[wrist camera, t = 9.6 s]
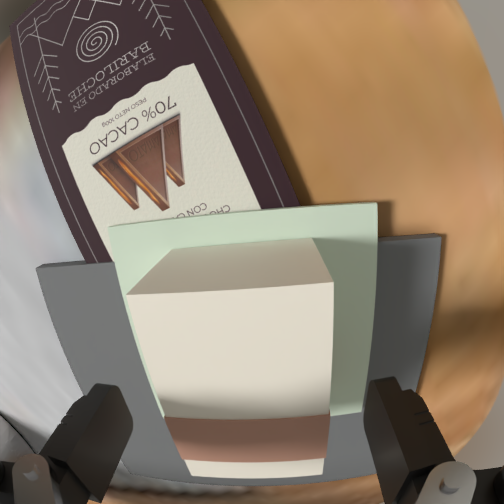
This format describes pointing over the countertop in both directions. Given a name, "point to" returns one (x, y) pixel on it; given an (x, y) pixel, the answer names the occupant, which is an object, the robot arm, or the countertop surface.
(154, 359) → the card box
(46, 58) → the chocolate bar
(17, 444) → the robot arm
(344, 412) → the mat
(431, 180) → the countertop surface
